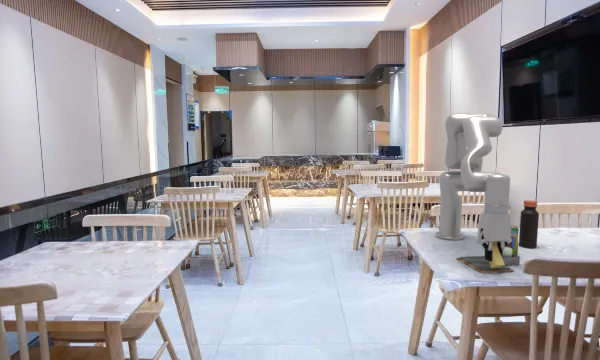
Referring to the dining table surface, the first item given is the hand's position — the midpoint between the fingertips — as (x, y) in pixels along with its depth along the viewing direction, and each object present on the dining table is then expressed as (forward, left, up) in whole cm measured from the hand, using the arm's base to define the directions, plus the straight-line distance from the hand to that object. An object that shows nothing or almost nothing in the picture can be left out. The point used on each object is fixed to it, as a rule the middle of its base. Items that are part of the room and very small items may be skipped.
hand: (493, 259), depth 134 cm
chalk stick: (+3, 0, -2) cm, 3 cm away
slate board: (-5, 0, -4) cm, 6 cm away
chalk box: (-19, +18, -4) cm, 26 cm away
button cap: (-7, +10, -2) cm, 12 cm away
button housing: (-7, +10, -4) cm, 13 cm away
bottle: (-25, +35, -4) cm, 43 cm away
